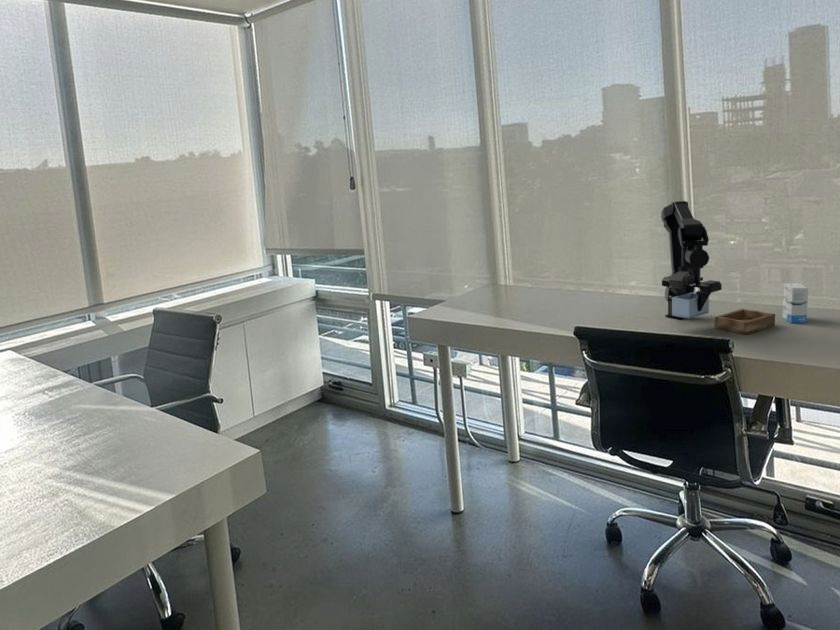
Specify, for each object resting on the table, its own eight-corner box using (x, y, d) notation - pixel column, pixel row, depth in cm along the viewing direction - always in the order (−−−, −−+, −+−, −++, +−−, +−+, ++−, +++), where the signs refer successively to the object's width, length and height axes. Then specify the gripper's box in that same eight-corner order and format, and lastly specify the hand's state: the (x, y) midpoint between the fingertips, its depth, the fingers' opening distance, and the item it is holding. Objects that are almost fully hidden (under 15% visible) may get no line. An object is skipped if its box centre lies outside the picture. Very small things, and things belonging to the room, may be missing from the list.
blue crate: (671, 315, 222) (672, 297, 220) (691, 309, 227) (691, 292, 225) (688, 318, 216) (689, 300, 215) (708, 312, 221) (709, 295, 220)
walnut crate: (714, 328, 221) (715, 316, 220) (742, 320, 229) (742, 308, 228) (747, 335, 212) (747, 322, 211) (774, 325, 219) (775, 313, 218)
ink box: (806, 323, 220) (808, 287, 217) (790, 323, 221) (792, 288, 218) (797, 316, 228) (799, 282, 225) (781, 317, 229) (783, 283, 226)
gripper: (650, 263, 221) (650, 309, 225) (700, 269, 206) (699, 318, 209) (673, 258, 227) (672, 303, 230) (723, 263, 211) (721, 312, 215)
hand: (690, 309), depth 221 cm, fingers closed on blue crate, 6 cm apart
